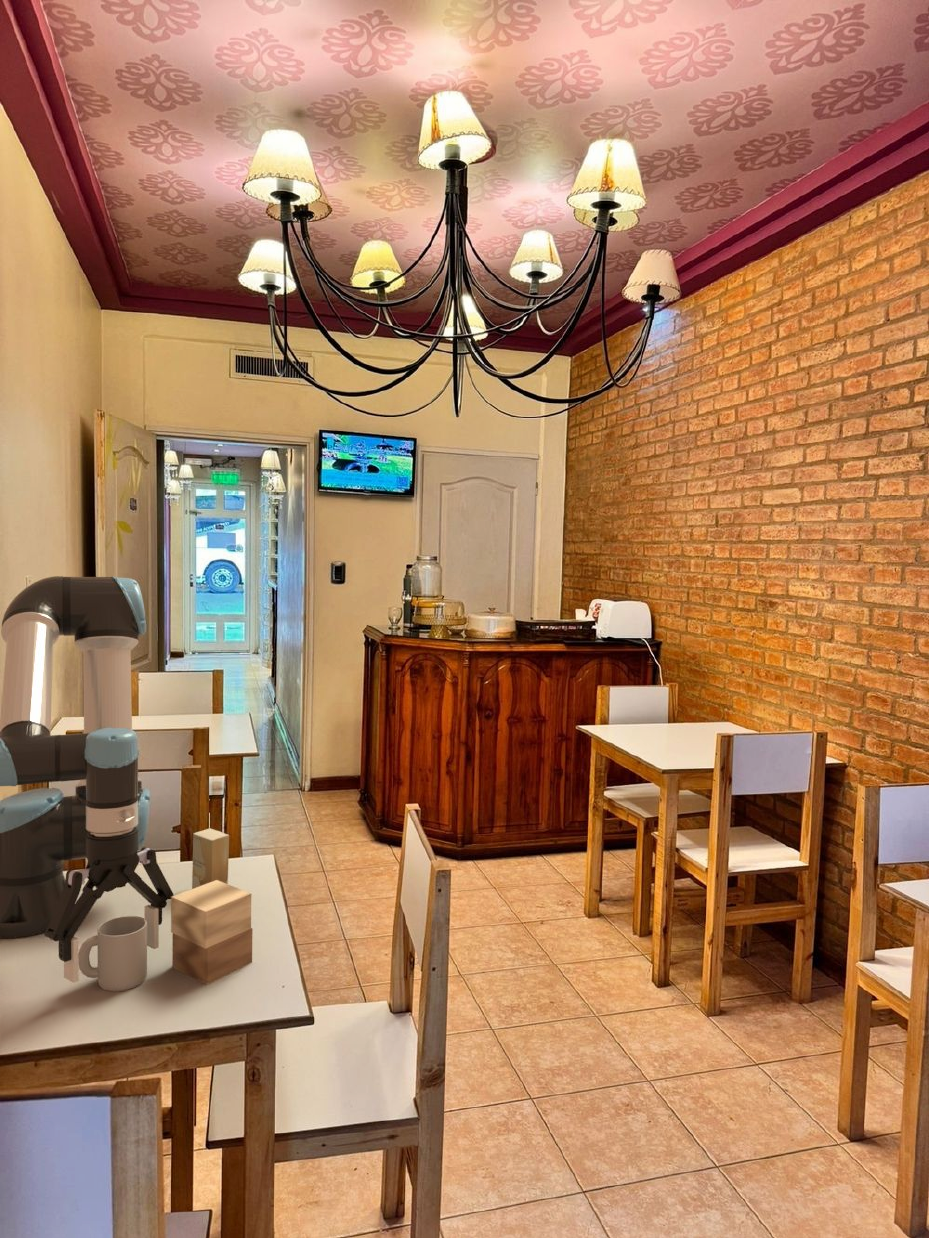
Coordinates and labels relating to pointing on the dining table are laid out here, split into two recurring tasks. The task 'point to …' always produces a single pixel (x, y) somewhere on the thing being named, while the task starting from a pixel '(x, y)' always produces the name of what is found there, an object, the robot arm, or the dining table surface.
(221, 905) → the beech block
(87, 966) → the cup
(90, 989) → the dining table surface
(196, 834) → the skincare box
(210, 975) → the walnut block
